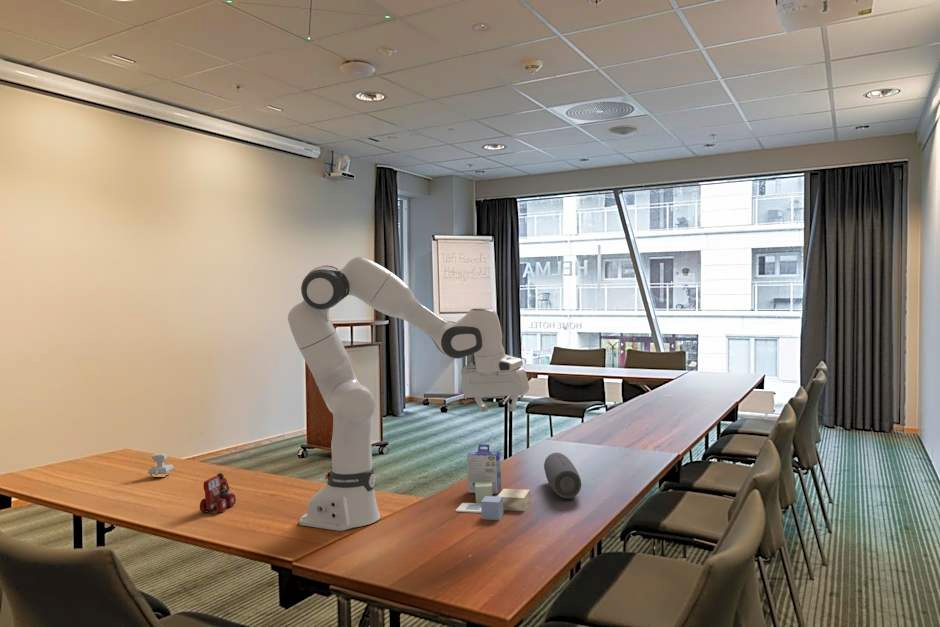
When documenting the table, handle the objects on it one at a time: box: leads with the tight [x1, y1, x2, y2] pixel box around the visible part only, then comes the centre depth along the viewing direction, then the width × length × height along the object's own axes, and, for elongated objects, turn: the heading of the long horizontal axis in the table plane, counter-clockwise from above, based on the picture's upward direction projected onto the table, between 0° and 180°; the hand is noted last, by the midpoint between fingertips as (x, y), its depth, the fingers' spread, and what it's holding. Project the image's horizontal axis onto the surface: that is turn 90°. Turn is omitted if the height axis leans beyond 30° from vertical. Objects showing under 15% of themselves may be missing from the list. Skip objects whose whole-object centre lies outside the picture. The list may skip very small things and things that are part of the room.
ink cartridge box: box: [466, 444, 502, 495], centre depth 203 cm, size 10×6×14 cm, turn 75°
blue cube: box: [480, 495, 505, 521], centre depth 179 cm, size 5×5×5 cm
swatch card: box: [455, 502, 482, 514], centre depth 187 cm, size 9×7×1 cm
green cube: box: [474, 481, 493, 503], centre depth 194 cm, size 5×5×5 cm
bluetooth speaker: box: [543, 452, 582, 499], centre depth 200 cm, size 23×9×10 cm, turn 0°
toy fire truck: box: [199, 472, 237, 513], centre depth 197 cm, size 7×12×10 cm, turn 172°
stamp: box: [147, 452, 175, 476], centre depth 240 cm, size 9×7×8 cm
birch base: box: [497, 488, 531, 512], centre depth 188 cm, size 8×8×4 cm
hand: (498, 411), depth 185 cm, fingers open, 8 cm apart
